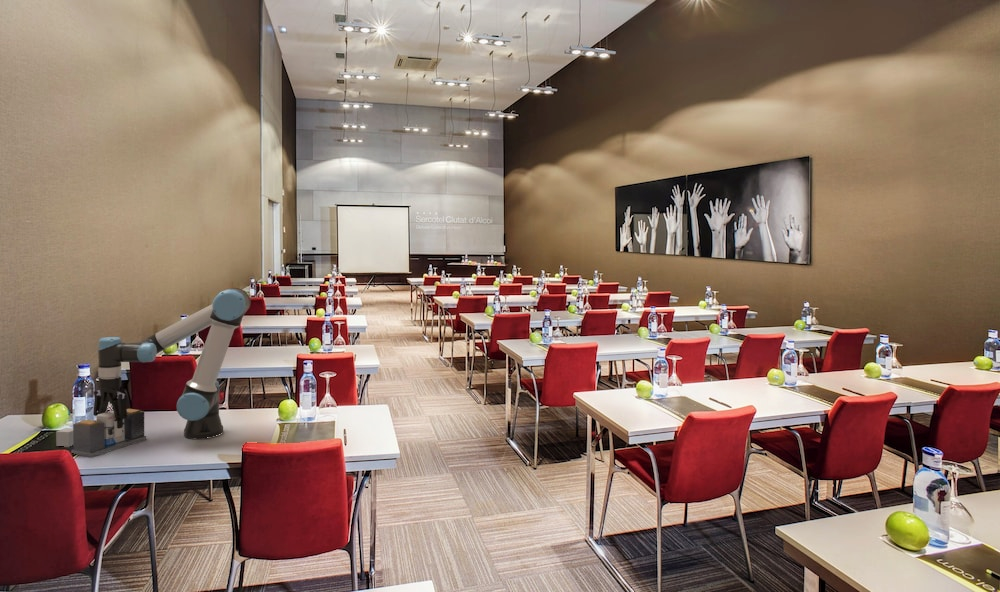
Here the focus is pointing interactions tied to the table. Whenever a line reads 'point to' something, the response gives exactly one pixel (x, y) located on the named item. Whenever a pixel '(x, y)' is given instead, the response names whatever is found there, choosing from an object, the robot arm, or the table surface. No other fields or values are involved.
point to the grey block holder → (92, 435)
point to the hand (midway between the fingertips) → (110, 434)
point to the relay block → (64, 437)
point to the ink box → (110, 428)
